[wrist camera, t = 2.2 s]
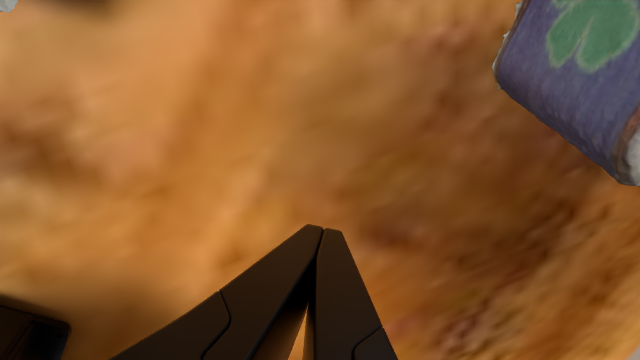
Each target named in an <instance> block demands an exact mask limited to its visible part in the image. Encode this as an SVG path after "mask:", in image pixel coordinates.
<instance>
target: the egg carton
mask: <svg viewBox="0 0 640 360" xmlns="http://www.w3.org/2000/svg"><path fill="white" fill-rule="evenodd" d="M17 1H18V0H0V11H4V12H9V13H10V12H11V11H12V10H13V8H14V7H15V5H16V3H17Z"/></svg>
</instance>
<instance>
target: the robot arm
mask: <svg viewBox="0 0 640 360" xmlns="http://www.w3.org/2000/svg"><path fill="white" fill-rule="evenodd" d="M307 307H308V309H307ZM306 310H307V316H306V326H305V337H304V349H303V360H398V358H397V356H396V354H395V352H394V350H393V347H392V345H391V343H390V341H389V339H388V336H387V334H386V332H385V330H384V328H383V326H382V324H381V321H380V319H379V317H378V314H377V312H376V310H375V308H374V305H373V303H372V301H371V298H370V296H369V294H368V291H367V289H366V287H365V284H364V282H363V280H362V278H361V275H360V273H359V271H358V268H357V266H356V264H355V261H354V259H353V257H352V254H351V252H350V250H349V248H348V245H347V243H346V241H345V238H344V236H343V234H342V232H341V231H339V230H335V229H330V228H325V229H323V228H322V227H320V226H315V225H311V224H307V225H305V226H304V227H303V228H301V229H300V230H299V231H297V232H296V233H295V234H293V235H292V236H291V237H289V238H288V239H287V240H285V241H284V242H283V243H281V244H280V245H279V246H277V247H276V248H275V249H273V250H272V251H271V252H269V253H268V254H267V255H265V256H264V257H263V258H261V259H260V260H259V261H257V262H256V263H255V264H253V265H252V266H251V267H249V268H248V269H247V270H245V271H244V272H243V273H241V274H240V275H239V276H237V277H236V278H235V279H233V280H232V281H231V282H229V283H228V284H227V285H225V286H224V287H223V288H221V289H220V290H219V291H217V292H215V293H214V294H213V295H211V296H210V297H209V298H207V299H206V300H204V301H203V302H202V303H200V304H199V305H197V306H196V307H194V308H193V309H192V310H190V311H189V312H187V313H186V314H184V315H182V316H181V317H179V318H178V319H176V320H174V321H173V322H171V323H170V324H168V325H166V326H165V327H163V328H161V329H159V330H158V331H156V332H154V333H153V334H151V335H149V336H147V337H146V338H144V339H142V340H141V341H139V342H137V343H135V344H134V345H132V346H130V347H129V348H127V349H125V350H123V351H122V352H120V353H118V354H117V355H115V356H113V357H111V358H110V359H108V360H288V358H289V355H290V353H291V350H292V347H293V345H294V342H295V340H296V337H297V335H298V332H299V329H300V327H301V324H302V322H303V319H304V316H305V313H306ZM58 331H61V332H63V333H60V332H58ZM70 334H71V327H70V325H69V324H67V323H65V322H62V321H58V320H54V319H51V318H47V317H43V316H39V315H36V314H32V313H28V312H24V311H20V310H17V309H13V308H9V307H5V306H2V305H0V360H62V358H63V355H64V352H65V349H66V346H67V343H68V340H69V337H70Z"/></svg>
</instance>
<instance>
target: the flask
mask: <svg viewBox="0 0 640 360" xmlns="http://www.w3.org/2000/svg"><path fill="white" fill-rule="evenodd" d="M515 7H516V11H515V12H516V15H515V21H514V24H513V26H512V28H511V29H510V30H509V31H508V33H507V34H504V37H505V38H504V40H503V43H502V47H501V48H500V49H499V51H498V55H497V57H496V60H495V61H494V63H493V67H492V68H493V74H494V77H495V80H496V82H497V83H498V90H499V89H503V90H504V91H505V92H506V93H507V94H508V95H509V96H510V97H511V98H512V99H514V100H515V101H516V102H517V103H519V104H520V105H522V106H523V107H524V108H526V109H527V110H528V111H530V112H531V113H533V114H534V115H535V116H536V117H537V118H538V119H539V120H540V121H541V122H543V123H545V124H546V125H547V126H549V127H550V128H552V129H553V130H555V131H556V132H558V133H559V134H560V135H561V136H562V137H563V138H564V139H565V140H566V141H568V142H569V143H570V144H572V145H574V146H576V148H577V149H578V150H580V152H581V153H583V154H585V155H586V156H587V157H588V158H589V159H591V160H592V161H593V162H595V163H596V164H598V165H600V166H601V167H603V168H604V169H605V170H606V171H607V172H608V173H609V175H610V176H612V177H614V178H615V179H616V180H617V182H618V183H620V184H624V185H631V186H638V187H640V0H523V1H522V2H520V3H518V4H516V5H515Z"/></svg>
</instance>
